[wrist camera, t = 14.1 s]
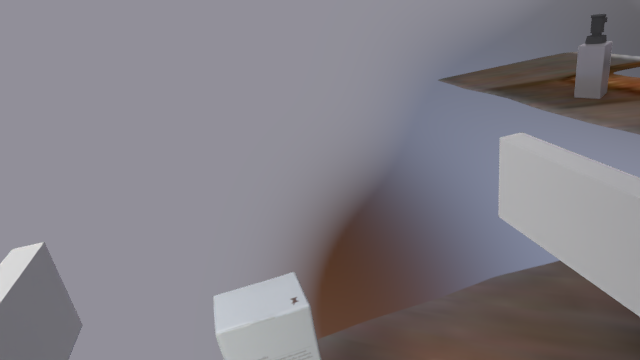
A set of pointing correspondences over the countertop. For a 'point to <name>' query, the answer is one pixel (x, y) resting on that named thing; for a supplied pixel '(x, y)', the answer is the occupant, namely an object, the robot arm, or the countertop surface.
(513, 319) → the countertop surface
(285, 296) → the skincare box
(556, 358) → the countertop surface
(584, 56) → the soap dispenser
